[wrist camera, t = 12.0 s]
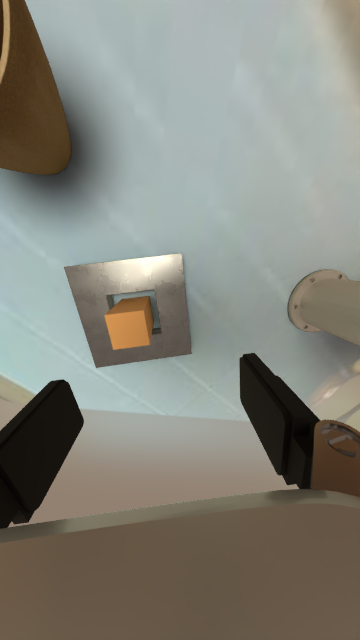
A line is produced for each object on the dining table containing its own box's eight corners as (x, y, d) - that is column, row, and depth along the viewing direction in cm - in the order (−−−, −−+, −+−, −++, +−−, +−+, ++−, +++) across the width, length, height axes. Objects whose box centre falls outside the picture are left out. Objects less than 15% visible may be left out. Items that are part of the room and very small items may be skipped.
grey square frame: (179, 254, 30) (181, 253, 27) (189, 346, 36) (191, 353, 33) (73, 266, 29) (63, 266, 26) (101, 359, 35) (96, 367, 32)
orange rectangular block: (149, 295, 32) (143, 310, 22) (153, 321, 33) (149, 344, 24) (121, 299, 31) (104, 315, 22) (127, 324, 33) (113, 349, 24)
